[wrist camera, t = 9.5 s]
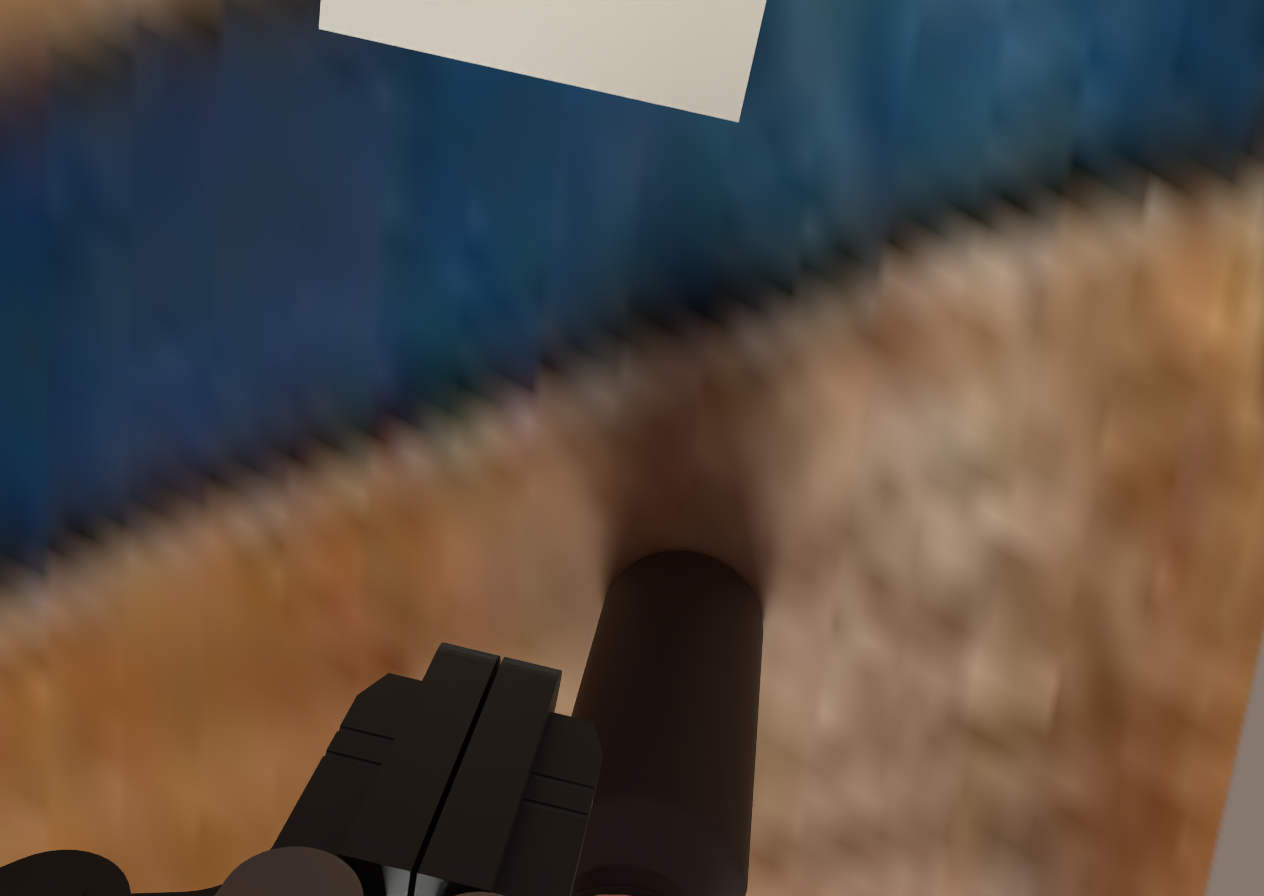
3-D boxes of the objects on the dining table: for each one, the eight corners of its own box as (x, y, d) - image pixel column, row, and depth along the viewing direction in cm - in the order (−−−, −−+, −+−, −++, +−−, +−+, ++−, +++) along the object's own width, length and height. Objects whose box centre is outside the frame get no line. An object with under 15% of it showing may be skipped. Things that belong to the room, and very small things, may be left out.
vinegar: (629, 693, 53) (536, 1113, 35) (583, 563, 50) (456, 943, 32) (780, 669, 51) (764, 1096, 33) (741, 533, 48) (701, 915, 30)
